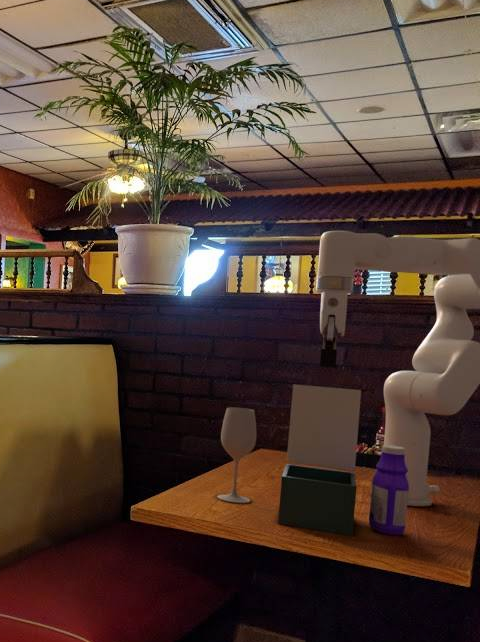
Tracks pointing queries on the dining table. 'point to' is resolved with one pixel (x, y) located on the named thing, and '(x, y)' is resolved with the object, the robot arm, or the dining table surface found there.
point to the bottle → (389, 492)
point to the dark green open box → (318, 499)
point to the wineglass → (238, 442)
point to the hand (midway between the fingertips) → (327, 366)
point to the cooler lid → (324, 426)
